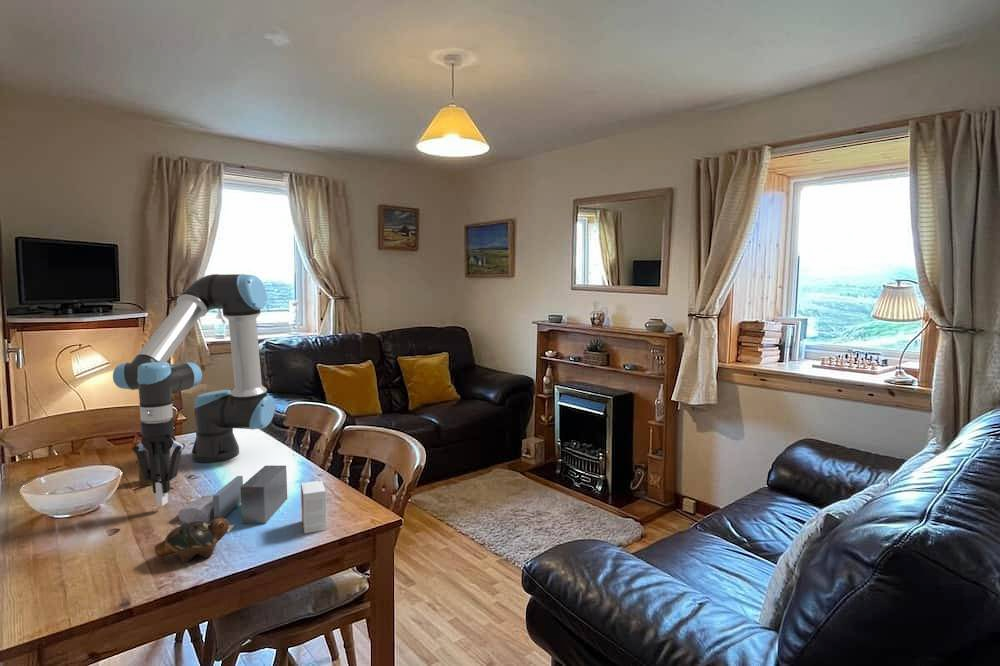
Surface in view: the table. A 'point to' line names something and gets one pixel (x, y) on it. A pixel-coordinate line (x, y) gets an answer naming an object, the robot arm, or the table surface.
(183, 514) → the stone block
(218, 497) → the gauge plate
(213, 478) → the table surface
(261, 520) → the dark gray block
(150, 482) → the utensil holder
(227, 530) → the pale flat strip
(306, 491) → the small box
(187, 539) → the decorative turtle
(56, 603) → the table surface
